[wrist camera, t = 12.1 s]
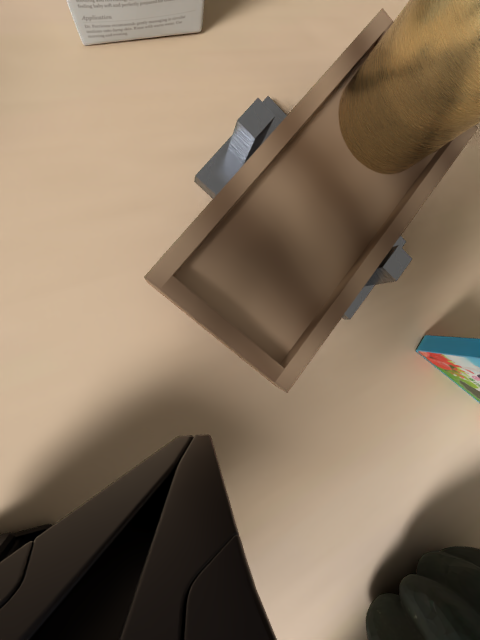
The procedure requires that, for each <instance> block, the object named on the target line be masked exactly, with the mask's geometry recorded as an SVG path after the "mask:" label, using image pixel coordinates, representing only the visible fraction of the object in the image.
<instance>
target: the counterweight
mask: <svg viewBox="0 0 480 640" xmlns="http://www.w3.org/2000/svg"><path fill="white" fill-rule="evenodd" d="M338 117H339V125H340V130H341V133H342V136H343V139H344V141H345V143H346V145H347V147H348V149H349V150H350V151H351V153H352V154H353V156H354V157H355V158H356V159H357V160H358V161H359V162H360V163H362V164H363V165H364V166H366V167H367V168H369V169H371V170H373V171H375V172H378V173H382V174H397V173H400V172H403V171H405V170H407V169H408V168H410V167H411V166H413V165H415V164H416V163H418V162H419V161H421V160H422V159H424V158H425V157H427V156H428V155H430V154H432V153H433V152H435V151H436V150H438V149H439V148H441V147H442V146H444V145H445V144H447V143H448V142H450V141H452V140H453V139H455V138H456V137H458V136H459V135H461V134H462V133H464V132H465V131H467V130H468V129H470V128H472V127H473V126H475V125H476V124H478V123H479V122H480V0H409V2H408V3H407V5H406V6H405V7H404V9H403V10H402V11H401V13H400V14H399V15H398V17H397V18H396V19H395V21H394V22H393V23H392V25H391V26H390V28H389V29H388V30H387V32H386V33H385V34H384V36H383V37H382V38H381V40H380V41H379V42H378V44H377V45H376V46H375V48H374V49H373V51H372V52H371V53H370V55H369V56H368V57H367V59H366V60H365V61H364V63H363V64H362V65H361V67H360V68H359V69H358V71H357V72H356V74H355V75H354V76H353V78H352V79H351V80H350V82H349V83H348V84H347V86H346V87H345V89H344V91H343V93H342V95H341V99H340V102H339V110H338Z"/></svg>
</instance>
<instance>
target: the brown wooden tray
mask: <svg viewBox="0 0 480 640" xmlns="http://www.w3.org/2000/svg"><path fill="white" fill-rule="evenodd" d="M392 23H393V21H392V19H391V18H390V17H389V16H388V14H387V13H386V12H385V11H384V9H383V8H382V9H381V10H380V12H379V13H378V14H377V15H376V16H375V17H374V18H373V19H372V21H371V22H370V23H369V24H368V25H367V26H366V27H365V28H364V30H363V31H362V32H361V33H360V34H359V35H358V36H357V37H356V39H355V40H354V41H353V42H352V43H351V44H350V45H349V46H348V48H347V49H346V50H345V51H344V52H343V53H342V54H341V56H340V57H339V58H338V59H337V60H336V61H335V62H334V63H333V65H332V66H331V67H330V68H329V69H328V70H327V71H326V72H325V74H324V75H323V76H322V77H321V78H320V79H319V80H318V81H317V83H316V84H315V85H314V86H313V87H312V88H311V89H310V90H309V92H308V93H307V94H306V95H305V96H304V97H303V98H302V99H301V101H300V102H299V103H298V104H297V105H296V106H295V107H294V108H293V110H292V111H291V112H290V113H289V114H288V115H287V116H286V118H285V119H284V120H283V121H282V122H281V123H280V124H279V125H278V127H277V128H276V129H275V130H274V131H273V132H272V133H271V134H270V136H269V137H268V138H267V139H266V140H265V141H264V142H263V143H262V145H261V146H260V147H259V148H258V149H257V150H256V151H255V152H254V154H253V155H252V156H251V157H250V158H249V159H248V160H247V161H246V163H245V164H244V165H243V166H242V167H241V168H240V169H239V171H238V172H237V173H236V174H235V175H234V176H233V177H232V178H231V180H230V181H229V182H228V183H227V184H226V185H225V186H224V187H223V189H222V190H221V191H220V192H219V193H218V194H217V195H216V196H215V198H214V199H213V200H212V201H211V202H210V203H209V204H208V205H207V207H206V208H205V209H204V210H203V211H202V212H201V213H200V214H199V216H198V217H197V218H196V219H195V220H194V221H193V222H192V223H191V225H190V226H189V227H188V228H187V229H186V230H185V231H184V233H183V234H182V235H181V236H180V237H179V238H178V239H177V240H176V242H175V243H174V244H173V245H172V246H171V247H170V248H169V249H168V251H167V252H166V253H165V254H164V255H163V256H162V257H161V258H160V260H159V261H158V262H157V263H156V264H155V265H154V266H153V267H152V269H151V270H150V271H149V272H148V273H147V274H146V275H145V276H144V278H145V279H146V281H147V282H148V283H149V284H150V285H151V286H152V287H154V288H155V289H156V290H157V291H159V292H160V293H161V294H162V295H163V296H165V297H166V298H167V299H168V300H170V301H171V302H172V303H173V304H175V305H176V306H177V307H178V308H180V309H181V310H182V311H183V312H185V313H186V314H187V315H188V316H189V317H191V318H192V319H193V320H194V321H196V322H197V323H198V324H199V325H201V326H202V327H203V328H204V329H206V330H207V331H208V332H209V333H211V334H212V335H213V336H214V337H216V338H217V339H218V340H219V341H220V342H222V343H223V344H224V345H225V346H227V347H228V348H229V349H230V350H232V351H233V352H234V353H235V354H237V355H238V356H239V357H240V358H242V359H243V360H244V361H245V362H247V363H248V364H249V365H250V366H251V367H253V368H254V369H255V370H256V371H258V372H259V373H260V374H261V375H263V376H264V377H265V378H266V379H268V380H269V381H270V382H271V383H273V384H274V385H275V386H277V387H279V388H280V389H282V390H283V391H285V392H287V393H288V391H289V390H290V388H291V387H292V386H293V384H294V383H295V381H296V380H297V379H298V377H299V376H300V375H301V373H302V372H303V370H304V369H305V368H306V366H307V365H308V363H309V362H310V361H311V359H312V358H313V356H314V355H315V354H316V352H317V351H318V350H319V348H320V347H321V345H322V344H323V343H324V341H325V340H326V338H327V337H328V336H329V334H330V333H331V331H332V330H333V329H334V327H335V326H336V325H337V323H338V322H339V320H340V319H341V318H342V316H343V315H344V313H345V312H346V311H347V309H348V308H349V306H350V305H351V304H352V302H353V301H354V300H355V298H356V297H357V295H358V294H359V293H360V291H361V290H362V288H363V287H364V286H365V284H366V283H367V281H368V280H369V279H370V277H371V276H372V275H373V273H374V272H375V270H376V269H377V268H378V266H379V265H380V263H381V262H382V261H383V259H384V258H385V256H386V255H387V254H388V252H389V251H390V250H391V248H392V247H393V245H394V244H395V243H396V241H397V240H398V238H399V237H400V236H401V234H402V233H403V231H404V230H405V229H406V227H407V226H408V225H409V223H410V222H411V220H412V219H413V218H414V216H415V215H416V213H417V212H418V211H419V209H420V208H421V206H422V205H423V204H424V202H425V201H426V200H427V198H428V197H429V195H430V194H431V193H432V191H433V190H434V188H435V187H436V186H437V184H438V183H439V181H440V180H441V179H442V177H443V176H444V175H445V173H446V172H447V170H448V169H449V168H450V166H451V165H452V163H453V162H454V161H455V159H456V158H457V156H458V155H459V154H460V152H461V151H462V150H463V148H464V147H465V145H466V144H467V143H468V141H469V140H470V138H471V137H472V136H473V134H474V133H475V131H476V130H477V129H478V127H477V126H476V125H475V126H473V127H472V128H470V129H468V130H467V131H465V132H464V133H462V134H461V135H459V136H458V137H456V138H455V139H453V140H452V141H450V142H448V143H447V144H445V145H444V146H442V147H441V148H439V149H438V150H436V151H435V152H433V153H432V154H430V155H428V156H427V157H425V158H424V159H422V160H421V161H419V162H418V163H416V164H415V165H413V166H411V167H410V168H408V169H407V170H405V171H403V172H400V173H397V174H382V173H378V172H375V171H373V170H371V169H369V168H367V167H366V166H364V165H363V164H362V163H360V162H359V161H358V160H357V159H356V158H355V157H354V156H353V154H352V153H351V151H350V150H349V149H348V147H347V145H346V143H345V141H344V139H343V136H342V133H341V130H340V125H339V117H338V110H339V102H340V99H341V95H342V93H343V91H344V89H345V87H346V86H347V84H348V83H349V82H350V80H351V79H352V78H353V76H354V75H355V74H356V72H357V71H358V69H359V68H360V67H361V65H362V64H363V63H364V61H365V60H366V59H367V57H368V56H369V55H370V53H371V52H372V51H373V49H374V48H375V46H376V45H377V44H378V42H379V41H380V40H381V38H382V37H383V36H384V34H385V33H386V32H387V30H388V29H389V28H390V26H391V25H392Z"/></svg>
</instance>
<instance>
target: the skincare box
mask: <svg viewBox="0 0 480 640" xmlns="http://www.w3.org/2000/svg"><path fill="white" fill-rule="evenodd" d="M66 1H67V4H68V6H69V9H70V12H71V14H72V17H73V20H74V22H75V25H76V28H77V30H78V33H79V35H80V38H81V41H82V43H83V44H84V45H93V44H101V43H109V42H118V41H126V40H135V39H143V38H152V37H161V36H170V35H179V34H187V33H196V32H200V31H201V29H202V23H203V11H204V0H66Z"/></svg>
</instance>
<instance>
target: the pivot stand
mask: <svg viewBox="0 0 480 640" xmlns="http://www.w3.org/2000/svg"><path fill="white" fill-rule="evenodd" d="M286 116H287V115H286V114H285V113H284V112H283V111H282V110H281V109H280V108H279V107H278V106H277V105H276V104H275V103H274V102H273V100H272V99H271V98H270V97H269V96H268V97H267V98H266V99H265V100H264V101H263V102H262V101H261V100H260V99H259V98H257V99H256V101H255V102H254V103H253V104H252V105H251V106H250V107H249V108H248V109H247V110H246V111H245V113H244V114H243V115H242V116H241V117H240V118H239V119H238V120H237V123H236V126H235V129H234V132H233V135H232V136H231V137H230V138H229V139H228V140H227V142H226V143H225V144H224V145H223V146H222V147H221V148H220V149H219V150H218V151H217V153H216V154H215V155H214V156H213V157H212V158H211V159H210V160H209V161H208V162H207V164H206V165H205V166H204V167H203V168H202V169H201V170H200V171H199V172H198V173H197V175H196V176H195V183H197V184H198V185H199V186H200V187H201V188H202V189H203V190H204V191H205V192H206V193H207V194H209V195H210V196H211V197H212V198H213V199H214V198H215V196H216V195H217V194H218V193H219V192H220V191H221V190H222V189H223V187H224V186H225V185H226V184H227V183H228V182H229V181H230V180H231V178H232V177H233V176H234V175H235V174H236V173H237V172H238V171H239V169H240V168H241V167H242V166H243V165H244V164H245V163H246V161H247V160H248V159H249V158H250V157H251V156H252V155H253V154H254V152H255V151H256V150H257V149H258V148H259V147H260V146H261V145H262V143H263V142H264V141H265V140H266V139H267V138H268V137H269V136H270V134H271V133H272V132H273V131H274V130H275V129H276V128H277V127H278V125H279V124H280V123H281V122H282V121H283V120H284V119H285V118H286ZM405 243H406V241H405V240H404V239H403V238H402V237H401V236H400V237H399V238H398V240H397V241H396V243H395V244H394V245H393V247H392V248H391V250H390V251H389V252H388V254H387V255H386V256H385V258H384V259H383V261H382V262H381V263H380V265H379V266H378V268H377V269H376V270H375V272H374V273H373V275H372V276H371V277H370V279H369V280H368V281H367V283H366V284H365V286H364V287H363V288H362V290H361V291H360V293H359V294H358V295H357V297H356V298H355V300H354V301H353V302H352V304H351V305H350V306H349V308H348V309H347V311H346V312H345V313H344V315H343V316H342V318H343V319H351V317H352V316H353V315H354V313H355V312H356V311H357V309H358V308H359V306H360V305H361V304H362V302H363V301H364V299H365V298H366V297H367V295H368V294H369V293H370V291H371V290H372V288H373V287H374V286H375V285H376V284H382V283H388V282H394V281H397V280H398V278H399V277H400V275H401V274H402V273H403V271H404V270H405V268H406V267H407V266H408V264H409V263H410V261H411V260H412V258H411V257H410V256H409V255H408V254H407V253H406V252H405V251H404V250H403V249H402V247H403V246H404V244H405Z"/></svg>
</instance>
